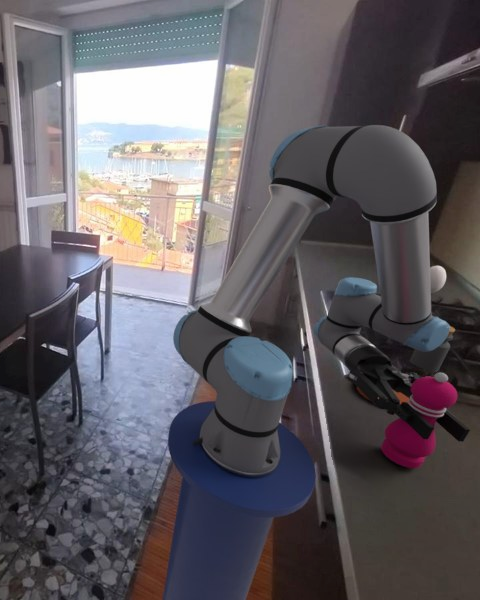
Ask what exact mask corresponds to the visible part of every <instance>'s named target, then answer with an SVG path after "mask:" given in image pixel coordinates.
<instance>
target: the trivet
mask: <svg viewBox="0 0 480 600" xmlns="http://www.w3.org/2000/svg"><path fill="white" fill-rule="evenodd" d="M355 386H356V385H355ZM356 390H357V392H358V393H359V394H360V395H361V396H362V397H363V398H365V399H366V400H368V401H369V402H371V400H370V399H369V398H368V397H367V396H366V395H365V394H364V393H363V392H362V391H361V390H360V389H359V388H358V387H357V386H356ZM393 391H394V390H393ZM394 393H395V394H396V395H397V397H398V398H399V400H400V404H401V403H402V402H407V403H408V400H409V399H410V398H408V397H407V396H405V395H404V394H402V393H401V392H399V393H397V392H395V391H394ZM378 399H379V397H378Z"/></svg>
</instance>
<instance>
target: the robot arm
mask: <svg viewBox="0 0 480 600" xmlns="http://www.w3.org/2000/svg"><path fill="white" fill-rule="evenodd" d="M269 167H270V170H269V178H270V180H271V182H270V184H269V185H268V191H269V194H270V200H269V202H268V203H267V205H266V207H265V208H264V210H263V211H262V213H261V215H260V216H259V218H258V219H257V222H256V223H255V225H254V227H253V228H252V230H251V232H250V233H249V236H248V237H247V239H246V240H245V242H244V244H243V245H242V248H241V249H240V251H239V253H238V255H237V256H236V257H235V259H234V261H233V263H232V265H231V266H230V268H229V270H228V271H227V273H226V275H225V277H223V280H222V282H221V283H220V285H219V287H218V289H217V290H216V292H215V294H214V295H213V297H212V299H211V300H209V301H206V302H203V303H201V304H200V306H199V307H198V309H195V310H191V311H188V314H184V315H183V316H182V317H181V318H180V319H179V320H178V322H177V323H176V325H175V328H174V331H173V336H172V337H173V338H172V341H173V345H174V348H175V350H176V353H178V354H179V355H180V358H181V359H182V361H184V362H185V363H186V364H187V365H189V366H190V367H191V368H192V369H193V370H194V371H195V372H196V373H197V374H198V375H199V376H200V377H201V378H202V379H203V380H204V381H205V382H206V383H208V385H209V386H210V387H212V389H214V391H215V392H216V397H215V400H214V401H215V407H214V409H213V410H212V412H211V413H210V414H209V416H208V417H207V419H206V420H205V421H204V423H203V425H202V427H201V430H200V436H199V439H198V440H196V441H194V442H193V444H194V446H195V445H198V444H200V445H201V448H202V450H203V452H204V453H205V455H206V456H207V457H208V458H209V459H210V460H211V461H212V462H213V463H214V464H215V465H217V466H218V467H220V468H221V469H223V470H224V471H226V472H228V473H231V474H233V475H236V476H240V477H244V478H262V477H266V476H268V475H270V474H272V473H273V472H274V471H275V470H276V468H277V466H278V463H279V460H280V445H279V438H278V432H277V428H278V424H279V422H280V420H281V418H282V415H283V411H284V408H285V405H286V402H287V399H288V395H289V394H290V392H291V389H292V383H293V375H294V368H293V363H292V361H291V358H289V356H288V355H287V353H285V351H283V350H282V349H281V348H279V346H276V345H275V344H274V343H272V342H270V341H268V340H262V339H260V338H259V337H256V336H255V337H254V336H250V334H251V333H252V331H253V330H252V326H251V323H250V321H251V318H252V317H253V315H254V313H255V312H256V310H257V308H258V307H259V306H260V304H261V302H262V301H263V299H264V297H265V296H266V294H267V293H268V291H269V289H270V288H271V286H272V285H273V283H274V281H275V280H276V278H277V276H278V275H279V273H280V272H281V270H282V268H283V267H284V265H285V264H286V262H287V260H288V259H289V257H290V256H291V254H292V252H293V251H294V249H295V247H296V246H297V245H298V243H299V241H300V240H301V238H302V237H303V235H304V233H305V232H306V230H307V229H308V227H309V226H310V224H311V223H312V221H313V219H314V217H315V216H317V215H318V214H321V213H324V212H327V211H328V210H330V208H331V206H332V205H333V204H334V202H335V200H336V199H337V197H341V198H347V199H352V200H354V201H355V202H356V203H357V204H358V205H359V206H360V214H361V216H362V217H363V219H365V220H366V221H368V222H369V224H370V230H371V237H372V244H373V245H372V246H373V252H374V257H375V266H376V272H377V280H378V285H379V286H377V284H376V283H375V282H373V281H371V280H369V279H366V278H360V277H353V276H350V277H343V278H341V279H340V280H339V282H338V284H337V285H336V289H335V291H334V293H333V294H332V295H333V297H332V300H331V303H330V306H329V309H328V312H327V315H325V316H322V317H321V318H319V319H318V320H317V322H315V323H314V325H313V333H314V335H315V337H316V338H317V339H318V341H319V342H320V344H322V345H323V346H324V347H325V348H326V349H328V350H329V351H330V352H331V353H332V354H333V355H334V356H335V358H337V359H338V361H340V362H341V363H342V365H344V366H345V367H346V368H347V370H348V371H349V372H348V374H347V378H346V379H347V380H348V381H350V382H351V383H352V384H354V385H355V386H357V387H358V388H359V389H360V390H361V391H362V392H363V393H364V394H365V395H366V396H367V397H368V398H369V399H370V400H371V401H370V402H371V403H372V404H373V405H374V407H376V408H378V409H380V410H383V409H384V408H385V409H387V410H386V413H387V414H388V415H391V416H394V415H396V416H397V417H398V418H400V419H401V420H403V421H404V422H407V423H408V424H409V425H410V426H411V427H412V428H413V429H414V430H415V431H416V432H417V433H418V434H419V435H420V436H421V437H422V438H423V439H428V438H429V437H430V435H431V433H432V431H433V429H434V430H435V426H434V427H433V426H432V425H431V424H430V423H429V422H428V421H427V420H425V419H424V418H423V417H422V416H421V415H420V414H419V413H418V412H417V411H416V410H414V409H413V408H412V407H411V406H410V405H409V404H408V403H407V402H402V403H401V404H400V400H399V398H398V397H397V395H396V394H395V393H394V391H395V392H397V393H399V392H401V393H402V394H404V395H405V396H407V397H408V398H410V396H411V395H413V394H412V392H411V386H412V384H413V382H414V381H415V380H416V379H418V378H420V377H419V375H418V374H417V373H415V372H411V373H410V375H408V374H407V373H403V372H402V371H401V370H399V369H398V368H396V367H394V366H393V364H392V361H391V360H390V358H389V357H388V356H387V355H386V354H385V353H384V352H383V351H381V350H380V349H378V347H376V346H375V345H374V344H373V343H371V342H370V341H369V340H368V339H367V338H365V337H364V336H363V335H362V334H361V333H360V332H361V330H362V328H363V327H366V328H368V329H370V330H373V331H374V332H377V333H378V334H381V335H383V336H385V337H387V338H389V339H392V340H394V341H395V342H398V343H400V344H402V345H403V346H404V347H406V346H407V347H409V348H411V349H414V350H415V349H416V350H419V351H422V352H429V351H432V350H434V349H436V348H437V347H438V346H440V345H441V344H442V343H443V342H444V340H445V339H446V338H447V336H448V334H449V330H450V327H449V326H450V324H449V323H448V322H447V321H446V320H443V319H441V318H440V317H439V316H435V315H432V293H431V287H430V267H431V260H430V259H431V257H430V256H431V255H430V227H429V226H430V223H429V212H430V211H432V209H433V208H434V207H435V206H436V204H437V202H438V201H437V200H438V196H437V195H438V194H437V193H438V192H437V181H436V177H435V173H434V171H433V168H432V166H431V164H430V161H429V159H428V157H427V156H426V154H425V152H424V151H423V150H422V149H421V147H420V146H419V144H418V143H417V142H415V141H414V140H413V139H412V138H411V137H410V136H409V135H408V134H406V133H405V132H403V131H402V130H399V129H397V128H394V127H391V126H387V125H381V124H369V125H354V126H353V125H352V126H351V125H349V126H346V125H345V126H328V125H317V126H316V125H315V126H313V127H306V128H301V129H298V130H295V131H294V132H292V133H291V134H289V135H288V136H286V137H285V138H284V139H283V140H282V141H281V142H280V143H279V144H278V145H277V147H276V149H275V151H274V152H273V154H272V156H271V159H270V161H269ZM378 287H379V294H380V295H378V294H377V290H378ZM357 387H356V388H357ZM393 390H394V391H393ZM378 397H379V399H378ZM448 408H449V407H447V408H446V412H445V413H444V415H443V416H442V417H438V418H437V420H436V422H435V423H437V424H438V425H439V426H440V427H441V428H442V429H444V430H445V431H446V432H447V433H448V434H449V435H451V436H452V437H453V438H454V439H455V440H456V441H457V442H460V443H461V442H462V443H463V442H464V441H465V439H466V438H467V436H468V434H469V433H470V431H471V429H470V428H469V427H468V426H466V425H465V424H464V423H463V422H461V421H460V420H459V419H458V418H457V416H456V415H454V414H453V413H452V412H451V411H449V410H448Z"/></svg>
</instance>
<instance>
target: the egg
mask: <svg viewBox="0 0 480 600" xmlns="http://www.w3.org/2000/svg"><path fill="white" fill-rule="evenodd" d="M446 281H447V272H446V269H445V268H444V267H443V266H441V265H432V266H430V287H431V294H435V293H437V292H439V291H440V290H441V289H443V288H444V285H445V284H446Z"/></svg>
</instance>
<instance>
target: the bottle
mask: <svg viewBox="0 0 480 600" xmlns="http://www.w3.org/2000/svg"><path fill="white" fill-rule="evenodd" d="M449 327H450V330H449V334H448V336H447V338H446V339H445V340H444V342H443V343H442V344H441V345H440V346H438V347H437V348H436V349H434V350H432V351H429V352H422V351H419V350H416V349H414V350H413V351H412V355H411V356H410V359H409V361H410V362H411V363H412V364H414V365H416V366H418V367H420V368H423V369H426V370H429V371H432V372H437V371H438V372H439V370H440V368H441V366H442V364H443V362H444V360H445V359H446V356H447V355H448V352H449V350H450V349H451V344H450V342H451V341H452V340H453V339H454V336H453V334H454V333H455V331H456V329H455V327H453V326H451V325H449ZM449 341H450V342H449ZM438 372H437V373H438Z"/></svg>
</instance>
